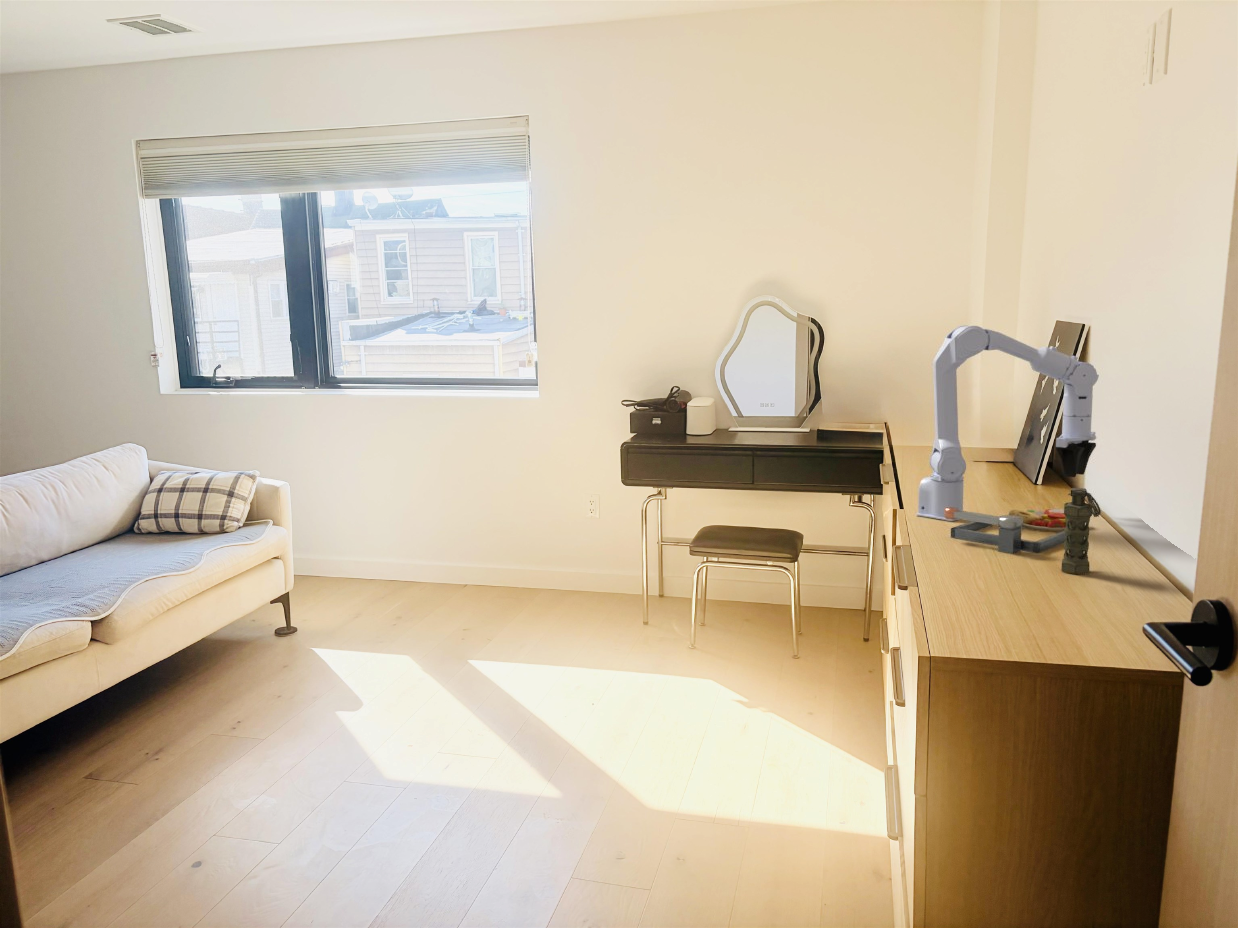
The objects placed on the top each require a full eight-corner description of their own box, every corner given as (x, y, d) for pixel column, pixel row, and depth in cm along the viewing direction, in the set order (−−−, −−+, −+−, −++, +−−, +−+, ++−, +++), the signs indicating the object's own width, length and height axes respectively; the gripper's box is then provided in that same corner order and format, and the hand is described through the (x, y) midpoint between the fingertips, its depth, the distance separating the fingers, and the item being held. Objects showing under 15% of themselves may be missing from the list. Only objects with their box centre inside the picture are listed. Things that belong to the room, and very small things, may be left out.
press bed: (940, 540, 179) (941, 518, 179) (987, 525, 191) (988, 504, 190) (1028, 556, 165) (1028, 533, 164) (1073, 539, 176) (1074, 516, 175)
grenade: (1098, 578, 150) (1103, 494, 148) (1061, 575, 153) (1065, 492, 151) (1097, 565, 158) (1101, 485, 156) (1061, 562, 161) (1064, 483, 158)
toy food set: (1000, 524, 192) (1000, 510, 192) (1042, 516, 197) (1042, 503, 197) (1051, 536, 180) (1052, 521, 180) (1095, 528, 185) (1096, 513, 185)
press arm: (939, 518, 178) (939, 509, 178) (951, 515, 181) (951, 505, 181) (1015, 531, 166) (1015, 521, 165) (1026, 527, 168) (1027, 517, 168)
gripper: (1080, 419, 185) (1077, 481, 187) (1110, 413, 193) (1107, 472, 196) (1047, 417, 190) (1045, 478, 192) (1078, 411, 199) (1075, 469, 201)
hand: (1074, 475), depth 194 cm, fingers open, 3 cm apart
